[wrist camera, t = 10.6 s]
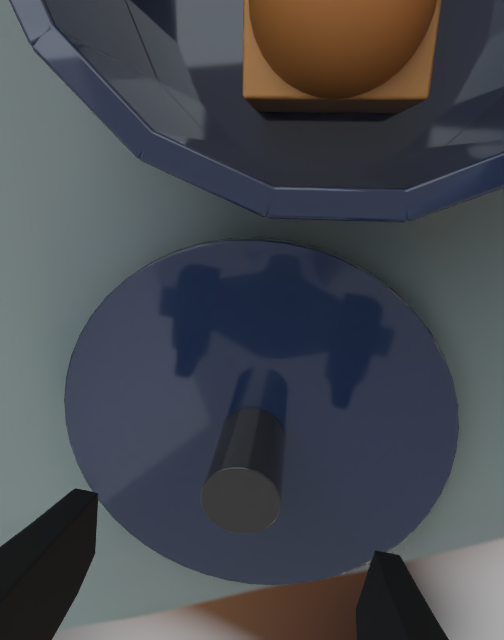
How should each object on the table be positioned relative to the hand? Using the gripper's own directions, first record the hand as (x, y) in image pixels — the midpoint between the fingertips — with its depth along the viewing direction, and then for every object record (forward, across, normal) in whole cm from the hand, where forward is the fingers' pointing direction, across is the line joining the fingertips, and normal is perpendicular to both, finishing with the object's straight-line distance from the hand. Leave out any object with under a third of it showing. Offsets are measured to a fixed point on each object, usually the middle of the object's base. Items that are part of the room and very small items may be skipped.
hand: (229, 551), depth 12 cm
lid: (+6, 0, 0) cm, 6 cm away
